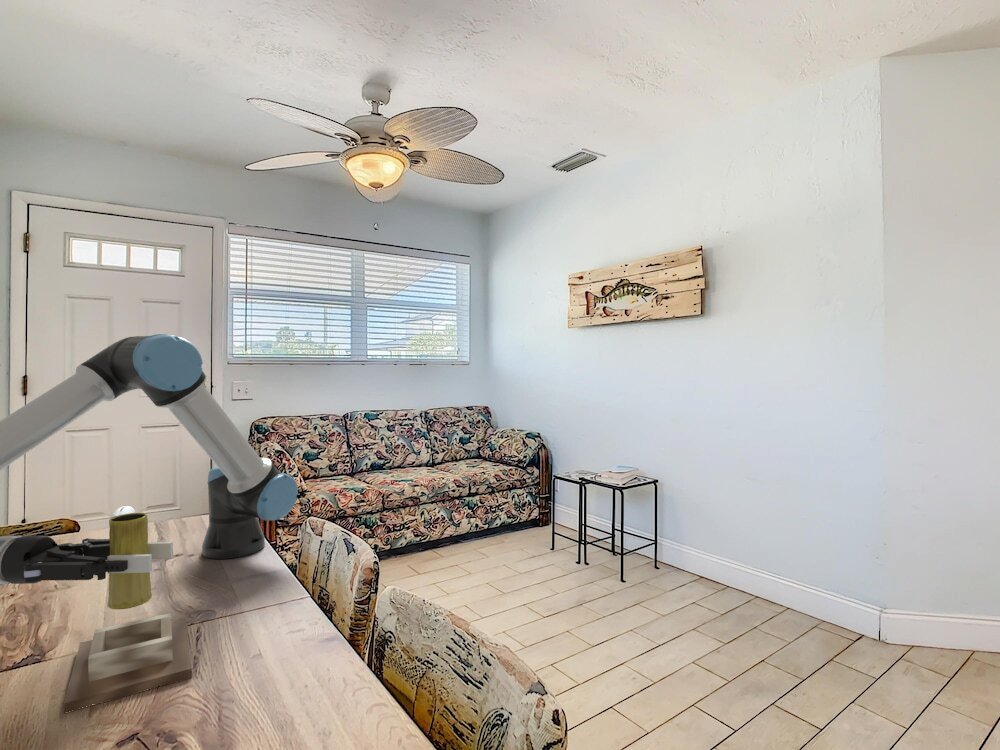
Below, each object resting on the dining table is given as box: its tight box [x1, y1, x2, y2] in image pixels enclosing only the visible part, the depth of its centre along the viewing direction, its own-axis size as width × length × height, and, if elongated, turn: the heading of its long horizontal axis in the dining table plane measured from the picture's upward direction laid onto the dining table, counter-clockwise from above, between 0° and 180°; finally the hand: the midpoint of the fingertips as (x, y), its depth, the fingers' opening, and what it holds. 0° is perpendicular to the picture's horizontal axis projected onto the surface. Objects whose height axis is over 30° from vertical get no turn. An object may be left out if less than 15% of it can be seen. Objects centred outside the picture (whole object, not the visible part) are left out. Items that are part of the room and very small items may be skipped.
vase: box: [106, 512, 153, 610], centre depth 90 cm, size 6×6×14 cm
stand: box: [63, 612, 193, 714], centre depth 90 cm, size 16×20×5 cm
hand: (161, 556), depth 90 cm, fingers closed on vase, 5 cm apart
